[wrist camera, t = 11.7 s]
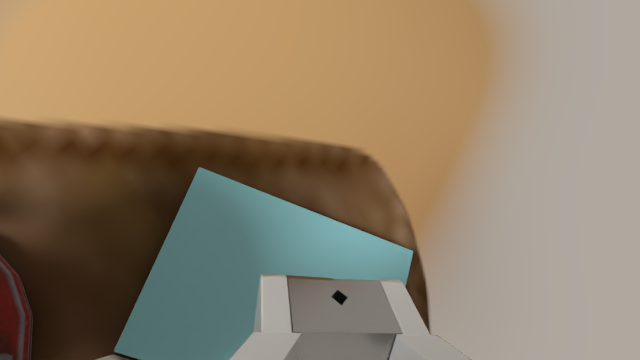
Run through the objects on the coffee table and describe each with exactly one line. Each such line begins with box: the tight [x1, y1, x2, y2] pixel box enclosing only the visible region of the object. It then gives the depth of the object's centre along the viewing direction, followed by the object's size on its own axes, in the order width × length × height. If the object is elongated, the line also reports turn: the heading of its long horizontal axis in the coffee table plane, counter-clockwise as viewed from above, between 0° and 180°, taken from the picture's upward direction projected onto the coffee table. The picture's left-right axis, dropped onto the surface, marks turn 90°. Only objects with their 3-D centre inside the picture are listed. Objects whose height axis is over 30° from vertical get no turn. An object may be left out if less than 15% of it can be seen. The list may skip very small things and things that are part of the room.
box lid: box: [113, 167, 413, 360], centre depth 27 cm, size 2×17×12 cm
